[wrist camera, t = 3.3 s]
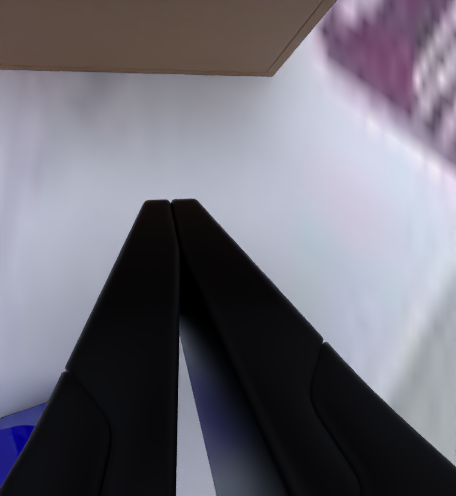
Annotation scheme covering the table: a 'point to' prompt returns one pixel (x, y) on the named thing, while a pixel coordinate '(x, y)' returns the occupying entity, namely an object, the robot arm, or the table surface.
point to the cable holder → (16, 436)
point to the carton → (155, 35)
